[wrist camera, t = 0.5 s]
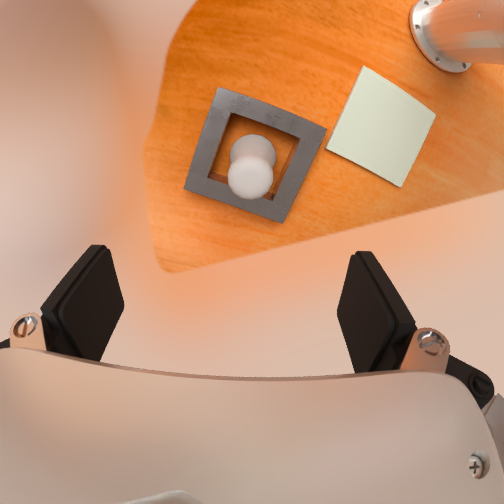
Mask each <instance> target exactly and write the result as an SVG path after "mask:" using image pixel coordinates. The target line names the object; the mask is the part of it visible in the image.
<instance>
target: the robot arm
mask: <svg viewBox="0 0 504 504" xmlns="http://www.w3.org/2000/svg"><path fill="white" fill-rule="evenodd" d="M409 22H410V28H411V33H412V35H413V38H414V40H415V42H416V44H417V46H418V47H419V49H420V50H421V51H422V53H423V54H424V55H425V56H426V58H427V59H428V60H429V61H431V62H432V63H433V64H434V65H435V66H437V67H439V68H440V69H442V70H445V71H448V72H456V73H458V72H463V71H466V70H467V69H468V68H469V67H470V66H471V65H472V63H486V64H502V65H504V0H447V1H442V0H419V1H418V2H416V3H415V4H414V5H413V7H412V9H411V11H410V16H409ZM40 309H41V311H42V313H43V315H42V316H41V317H40V316H39V315H38V314H35V313H28V314H24V315H22V316H20V317H19V318H18V319H17V320H16V321H15V322H14V323H13V324H12V326H11V328H10V338H9V339H7V340H5V341H3V342H0V504H504V398H503V397H502V396H501V395H500V394H499V393H498V394H497V395H496V396H495V395H494V386H493V383H492V381H491V379H490V378H489V377H488V376H487V375H486V374H484V373H483V372H482V371H480V370H478V369H476V368H474V367H472V366H470V365H468V364H466V363H464V362H463V361H461V360H459V359H457V358H455V357H453V356H451V355H449V353H450V345H449V342H448V340H447V339H446V337H445V336H444V335H442V334H441V333H440V332H438V331H437V330H435V329H432V328H420V329H417V327H416V325H415V320H414V319H413V317H412V315H411V313H410V312H409V310H408V308H407V306H406V305H405V303H404V302H403V300H402V298H401V296H400V295H399V293H398V292H397V290H396V288H395V287H394V285H393V284H392V282H391V280H390V279H389V277H388V276H387V274H386V273H385V271H384V270H383V268H382V266H381V265H380V263H379V262H378V261H377V259H376V258H375V256H374V255H373V253H372V252H370V251H357V252H356V253H355V255H352V256H351V258H350V262H349V266H348V270H347V274H346V279H345V282H344V286H343V290H342V294H341V297H340V301H339V305H338V309H337V317H338V320H339V323H340V326H341V329H342V332H343V336H344V339H345V342H346V345H347V348H348V351H349V354H350V358H351V361H352V365H353V368H354V371H355V373H354V374H343V375H325V376H307V377H228V376H209V375H195V374H183V373H172V372H163V371H155V370H147V369H139V368H133V367H126V366H120V365H114V364H108V363H103V362H100V360H101V357H102V355H103V353H104V351H105V348H106V346H107V344H108V342H109V339H110V337H111V335H112V333H113V331H114V329H115V327H116V324H117V322H118V320H119V318H120V316H121V314H122V312H123V310H124V300H123V297H122V293H121V290H120V286H119V283H118V279H117V276H116V272H115V268H114V264H113V260H112V256H111V252H110V250H109V249H107V247H106V246H105V245H91V246H90V247H89V248H88V249H87V250H86V252H85V253H84V254H83V255H82V256H81V257H80V258H79V260H78V261H77V262H76V263H75V264H74V265H73V267H72V268H71V269H70V270H69V272H68V273H67V274H66V275H65V276H64V278H63V279H62V280H61V281H60V283H59V284H58V285H57V286H56V288H55V289H54V290H53V292H52V293H51V294H50V296H49V297H48V298H47V300H46V301H45V302H44V304H43V305H42V306H41V308H40Z"/></svg>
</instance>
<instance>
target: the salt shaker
mask: <svg viewBox="0 0 504 504" xmlns="http://www.w3.org/2000/svg"><path fill="white" fill-rule="evenodd" d="M275 162H276V151H275V149H274V147H273V145H272V143H271V142H270V141H269V140H267V139H266V138H264V137H263V136H260V135H254V134H250V135H246V136H243V137H241V138H239V139H238V140H237V141H236V142H235V143H234V144H233V146H232V148H231V151H230V163H231V166H230V168H229V171H228V184H229V186H230V188H231V189H232V191H233V192H234V193H235V194H236V195H238V196H239V197H241V198H243V199H250V200H253V199H257V198H261V197H262V196H263V195H265V194H266V193H267V192H268V191H269V189H270V187H271V185H272V183H273V170H272V168H273V166H274V164H275Z"/></svg>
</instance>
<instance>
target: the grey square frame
mask: <svg viewBox="0 0 504 504" xmlns="http://www.w3.org/2000/svg"><path fill="white" fill-rule="evenodd" d="M232 112H233V113H236V114H238V115H241V116H244V117H247V118H250V119H253V120H255V121H258V122H261V123H263V124H266V125H269V126H271V127H274V128H276V129H279V130H281V131H284V132H286V133H289V134H291V135H294V136H296V137H297V138H296V140H295V143H294V145H293V147H292V149H291V152H290V154H289V156H288V158H287V161H286V163H285V165H284V167H283V170H282V172H281V174H280V176H279V179H278V181H277V183H276V185H275V188H274V190H273V192H272V193H269V192H267V193H266V194H265V195H263V196H262V197H261V198H257V199H253V200H250V199H243V198H241V197H239V196H238V195H236V194H235V193H234V192H233V191H232V189H231V188H230V186H229V184H228V177H225V176H222V175H219V174H216V173H213V172H211V170H212V167H213V164H214V161H215V158H216V155H217V152H218V150H219V147H220V144H221V141H222V139H223V136H224V133H225V131H226V128H227V125H228V123H229V120H230V117H231V115H232ZM326 131H327V129H326V128H324V127H322V126H320V125H318V124H316V123H314V122H311V121H309V120H307V119H305V118H302V117H300V116H298V115H295V114H293V113H290V112H288V111H286V110H283V109H281V108H278V107H276V106H273V105H270V104H268V103H265V102H262V101H260V100H257V99H254V98H251V97H249V96H246V95H243V94H240V93H237V92H234V91H231V90H228V89H224V88H221V87H218V89H217V91H216V94H215V97H214V99H213V102H212V105H211V107H210V110H209V113H208V116H207V118H206V121H205V124H204V127H203V130H202V133H201V136H200V138H199V141H198V144H197V147H196V151H195V154H194V157H193V160H192V163H191V166H190V169H189V173H188V176H187V179H186V183H185V186H184V189H185V190H188V191H191V192H194V193H197V194H200V195H203V196H206V197H209V198H212V199H215V200H218V201H220V202H223V203H226V204H229V205H232V206H235V207H238V208H240V209H243V210H246V211H249V212H252V213H254V214H257V215H260V216H263V217H265V218H268V219H271V220H274V221H276V222H279V223H282V224H283V222H284V220H285V218H286V216H287V214H288V212H289V210H290V208H291V205H292V203H293V201H294V199H295V197H296V195H297V193H298V191H299V189H300V187H301V184H302V182H303V180H304V178H305V176H306V174H307V172H308V170H309V168H310V165H311V163H312V161H313V159H314V157H315V155H316V153H317V150H318V148H319V146H320V144H321V142H322V140H323V138H324V135H325V133H326Z"/></svg>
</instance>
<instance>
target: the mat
mask: <svg viewBox="0 0 504 504" xmlns="http://www.w3.org/2000/svg"><path fill="white" fill-rule="evenodd" d="M435 116H436V114H435V113H433V112H432V111H431V110H430V109H428V108H427V107H426V106H424V105H423V104H422V103H420V102H419V101H418V100H416V99H415V98H413V97H412V96H411V95H409V94H408V93H406V92H405V91H403V90H402V89H401V88H399V87H398V86H396V85H394V84H393V83H391V82H390V81H388V80H387V79H385V78H383V77H382V76H380V75H379V74H377V73H375V72H374V71H372V70H370V69H368V68H367V67H365V66H362V67H361V69H360V72H359V74H358V76H357V78H356V80H355V83H354V85H353V87H352V89H351V92H350V94H349V96H348V98H347V100H346V102H345V105H344V107H343V109H342V111H341V113H340V116H339V118H338V120H337V122H336V124H335V126H334V129H333V131H332V133H331V135H330V137H329V139H328V141H327V144H326V146H325V148H326V149H328V150H330V151H332V152H335V153H337V154H339V155H341V156H343V157H345V158H347V159H349V160H351V161H353V162H355V163H357V164H359V165H361V166H362V167H364V168H366V169H368V170H370V171H372V172H374V173H375V174H377V175H379V176H381V177H383V178H384V179H386V180H388V181H390V182H392V183H393V184H395V185H397V186H398V187H400V188H401V186H402V184H403V182H404V180H405V178H406V177H407V175H408V173H409V171H410V169H411V167H412V165H413V163H414V161H415V159H416V157H417V155H418V153H419V151H420V149H421V147H422V145H423V143H424V141H425V138H426V136H427V134H428V132H429V130H430V128H431V125H432V123H433V121H434V119H435Z"/></svg>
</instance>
